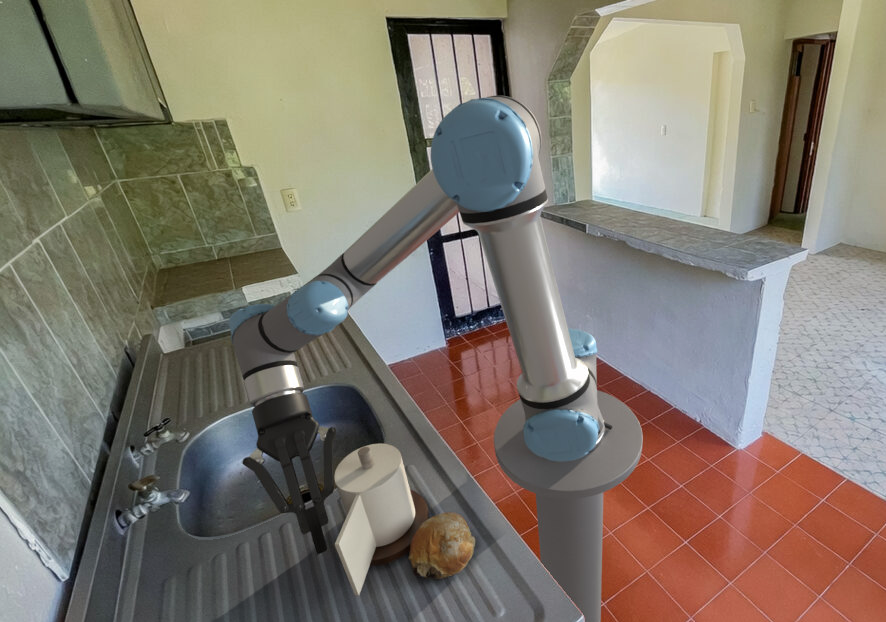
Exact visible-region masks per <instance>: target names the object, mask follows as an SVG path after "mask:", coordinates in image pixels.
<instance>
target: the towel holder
mask: <svg viewBox="0 0 886 622" xmlns="http://www.w3.org/2000/svg"><path fill="white" fill-rule="evenodd" d="M362 447H363V448H362ZM362 447H360V448H361V449H359V448H358V449H359V451H358V456H359V459H360V462H361V466H362V468H363V469H370V468H372V467H373V465H374V461H373V458H372V454H371V451H370V448H369V447H364V446H362ZM410 492H411V496H412V500H413V503H414V507H415V518H414V521H413V523H412V525H411V527H410V528H409V529H408V531H407V532H406V533H405V534H404V535H403V536H401V537H400V538H399V539H397V540H396V541H394V542H392V543H390V544H387V545H384V546H379V547H376V548H375V551H374V554H373V557H372V560H371V563H370V566H369V567H372V566H373V567H374V566H375V567H376V566H382V565H386V564H389V563H392V562H394V561H397V560H398V559H400V558H403V557H404V556H405V555H407V554H408V553H410V543H411V542H412V539H413V537H414V535H415V533H416V531H417V530H418V529H419V527H420V526H421V525H422V523H424V522H425V521H426V520H428V519H429V518H430V514H429V509H428V505H427V502H426V500H425V499H424V497H423V496H422V495H421V494H420V493H419V492H417V491H415V490H413V489H410Z"/></svg>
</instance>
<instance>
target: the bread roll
mask: <svg viewBox="0 0 886 622" xmlns="http://www.w3.org/2000/svg"><path fill="white" fill-rule="evenodd" d="M475 547H476V538H475V535H472V532H471V529H470V527H469V525H468V523H467V521H466V519H465V518H464V517H463V516H462V515H461V514H459V513H456V512H453V511H448V512H441V513H439V514H436V515H434V516H432V517H429V519H428V520H426V521H425V522H424V523H422V525H421V526H420V527H419V529H418V530H417V531H416V533H415V535H414V537H413V539H412V542H411V543H410V551H409V556H408V557H407V559H408V560H409V561H410V564H411V567H412V574H413V575H414V576H416V577H423V578H425V579H428V580H435V579H436V580H442V579H446V578H448V577H451V576H454V575H457V574H459V573H460V572H462V571H463V569H464V568H465V567H467V565H468V563H469V562H470V561H471V559H472V557H473V555H474V550H475Z"/></svg>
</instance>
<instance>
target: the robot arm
mask: <svg viewBox="0 0 886 622" xmlns="http://www.w3.org/2000/svg"><path fill="white" fill-rule="evenodd" d="M542 139H543V137H542V132H541V127H540V124H539V122H538V121H537V118H536V116H535V115H534V113H533V112H532V111H531V110H530V108H528V106H526V105H525V103H522V102H521V101H519V100H518V99H516V98H514V97H511V96H506V95H489V96H486V97H479V98H471V99H470V100H467V101H465V102H463V103H459V104H458V105H457V106H455V107H454V108H453V109H451V111H449V112H448V113H447V114H446V115H445V116H444V117H442V119H441V121H440V122H439V124H438V126H437V127H436V129H435V131H434V133H433V136H432V140H431V144H430V164H431V168H432V169H430V170H429V171H428V172H427V173H426V174H425V175H424V176H423V177H422V178H421V179H420V180H419V181H418V182H417V183H416V184H414V185H413V187H411V189H409V190H408V191H407V192H406V193H405V194H404V195H403V196H402V197H401V198H400V199H399V200H398V201H396V203H394V204H393V205H392V206H391V207H390V208H389V209H388V210H387V211H386V212H385V213H384V214H383V215H381V217H379V218H378V219H377V221H375V222H374V223H373V224H372V225H371V226H370V227H369V228H368V229H367V230H366V231H365V232H363V234H361V236H360V237H359V238H357V239H356V240H355V241H354V242H353V243H352V244H351V245H350V246H349V247H348V248H347V249H345V251H344V252H343V253H342V254H340V255H339V256H338V257H337V258H336V259H335V260H334V261H333V262H332V263H331V264H330V265H328V266H327V267H326V268H325V269H324V270H323V271H321V272H320V273H318V274H317V275H316V276H314V277H313V278H312V279H310V280H309V281H307V282H306V283H305V284H303V285H302V286H300V287H299V288H298V289H297V290H294V291H293V292H292V293H291V294H290V295H288V296H287V297H285V298H284V299H283V300H281V301H280V302H279V303H277V304H276V305H275V304H271V303H257V304H251V305H248V306H246V307H244V308H240V309H238V310H236V311H234V312H233V313H232V314H231V316H230V317H229V320H228V326H229V330H230V341H231V344H232V345H233V349H234V352H235V355H236V359H237V363H238V366H239V369H240V374H241V376H242V378H243V385H244V389H245V392H246V396H247V399H248V403H249V406H251V407H253V408H252V410H251V414H252V419H253V421H254V426H255V429H256V433H257V440H256V444H255V446H256V448H255V449H254V450H253V451H252V452H251V453H250V455H249V456H246V457H244V458H243V459H242V461H241V462H242V465H243V466H245V468H247V469H249V470H251V471H253V473H254V474H255V476H256V478H257V479H258V481H259V482H260V484H261V485H262V487H263V488H264V490H265V492H266V493H267V495H268V497H269V498H270V500H271V501H272V503H273V504H274V506H275V507H276V509H277V511H278V512H279V513H280V514H290V513H292V514H294V515H295V516H296V519H297V523H298V527H299V530H300V533H301V534H302V535H303V536H304V535H306V534H309V533H310V536H311V539H312V543H313V546H314V550H315V553H316V556H319V555H320V554H323V553H325V552H327V551H328V549H329V548H328V545H327V542H326V538H325V535H324V531H323V528H322V527H324V526H326V525H328V524H329V517H328V514H327V510H326V506H325V500H326V499H327V498H328V497H330V496H331V495H332V494H333V493H334V491H335V480H334V442H335V440H336V437H337V434H338V432H337V429H336V427H334V426H331V427H326V426H322V425H320V424H319V422H318V421H317V420H316V419H315V418H314V416H313V412H312V408H311V405H310V402H309V399H308V395H307V394H306V393H303V392H304V391H305V386H304V383H303V378H302V376H301V372H300V369H299V364H298V363H297V360H296V355H295V352H297V351H299V350H301V349H302V348H304V347H305V346H307V345H308V344H311V342H313V341H315V340H317V339H318V338H320V337H321V336H323V335H325V334H329V333H330V332H332V331H333V330H334V329H335V328H336V327H337V326H338V325H340V324H341V323H343V322H344V321H345V320H346V318H347V317H348V312H349V310H350V309H351V307H353V306H354V305H355V304H356V303H357V302H359V300H360V299H361V298H362V297H364V295H366V294H367V293H368V292H370V290H372V288H374V287H375V286H376V285H377V284H378V283H380V282H381V281H382V280H383V279H384V278H385V277H387V275H389V274H390V273H391V272H392V271H393V270H394V269H396V267H398V266H400V264H401V263H402V262H404V260H406V259H407V258H408V257H409V256H411V255H412V254H413V253H414V252H415V251H416V250H417V249H418V248H420V247H422V245H423V244H425V242H427V241H428V240H429V239H430V238H431V237H432V236H434V235H435V234H436V233H437V232H439V230H440V229H442V228H443V227H444V226H445V225H446V224H448V223H449V222H450V221H451V220H452V219H453V218H455V217H456V216H457V215H458V214H459V215H460V218H461V221H462V223H463V224H462V225H465V226H467V227H469V228H471V229H473V230H474V231H476V232H477V234H478V236H479V240H480V244H481V247H482V249H483V252H484V253H483V254H484V256H485V259H486V262H487V265H488V268H489V271H490V275H491V278H492V282H493V284H494V287H495V291H496V294H497V297H498V300H499V303H500V306H501V307H500V308H501V310H502V313H503V316H504V320H505V322H506V325H507V330H508V332H509V335H510V339H511V343H512V345H513V348H514V352H515V355H516V358H517V361H518V364H519V367H520V371H521V374H519V376H518V378H517V381H516V390H517V393H518V396H519V400H520V399H521V403H522V406H523V409H524V412H525V419H526V421H525V423H524V426H523V433H524V441H525V443H526V445H527V447H528V448H529V449H530V450H531V451H532V452H533V453H534V454H536V455H537V456H539V457H543V458H546V459H547V460H551V461H559V462H564V461H572V460H576V459H579V458H581V457H583V456H585V455H586V454H589V453H590V452H592V451H594V450H595V449H596V448H597V447H598V446H599V445H600V444H601V442H602V441H603V438H604V431H605V428H607V429H610V430H611V429H612V425H610V424H607V423H605V422H604V420H603V417H602V415H601V412H600V410H599V407H598V405H597V390H598V389H597V388H598V381H597V379H598V377H597V375H598V374H597V353H598V348H597V341H596V339H595V337H594V336H593V335H592V334H591V333H589V332H587V331H584V330H581V329H575V328H569V327H568V323H567V319H566V315H565V311H564V308H563V307H564V306H563V303H562V299H561V295H560V291H559V286H558V282H557V278H556V274H555V270H554V266H553V263H552V258H551V254H550V250H549V246H548V242H547V238H546V234H545V229H544V226H543V225H544V224H543V222H542V221H543V220H542V217H541V215H542V212H543V210H544V209H545V207H546V206H547V204H548V202H549V197H548V193H547V189H546V184H545V181H544V176H543V172H542V167H541V163H540V159H539V158H540V155H541V151H542V146H543V145H542V144H543V143H542V142H543V140H542ZM318 435H319V439H320V441H321V442H323V489H322V490H321V488H320V486H319V481H318V479H317V475H316V471H315V468H314V464H313V460H312V456H311V453H310V452H311V450H312V449H313V446H314V444H315V442H316V439H317V437H318ZM264 454H265V455H267V456H268V457H270V458H272V459H273V460H275V461H277V462H279V463H280V466H281V469H282V472H283V475H284V479H285V482H286V486H287V490H288V493H289V496H290V500H291V503H289V502H288V500H287V499H286V497H285V496H284V494H283V493H282V491H281V489H280V488H279V486H278V485H277V483H276V481H275V480H274V478H273V477H272V475H271V474H270V472H269V471H268V469H267V468H266V467H265V466H264V464H265V458H264V457H263V455H264ZM297 457H299V460H300V463H301V466H302V470H303V473H304V477H305V480H306V484H307V488H308V491H309V494H310V499H311V503H312V505H313V506H311V507H308V508H306V504H305V501H304V498H303V494H302V491H301V487H300V484H299V480H298V476H297V474H296V470H295V467H294V462H293V459H295V458H297Z"/></svg>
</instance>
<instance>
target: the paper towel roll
mask: <svg viewBox="0 0 886 622" xmlns="http://www.w3.org/2000/svg"><path fill="white" fill-rule="evenodd" d="M363 447H369V448H370V451H371V454H372V458H373V461H374V465H373V467H372V468H370V469H363V468H362V466H361V462H360V459H359V456H358V451H359V449H361V448H363ZM333 476H334V485H335V486H336V488H337V492H338V495H339V497H340V500H341V503H342V506H343V508H344V511H345V514H346V517H345V520H344V522H343V524H342V526H341V529H340V531H339V534H338V536H337V537H336V540H335V543H334V546H335V549H336V552H337V554H338V556H339V559H340V562H341V564H342V567H343V569H344V572H345V575H346V577H347V579H348V581H349V584H350V586H351V589H352V592H353V594H354V596H355V597H360V595H361V591H362V589H363V587H364V583H365V580H366V577H367V574H368V571H369V568H370V567H371V566H370V563H371V560H372V557H373V554H374V551H375V548H376V547H379V546H384V545H387V544H390V543H392V542H394V541H396V540H397V539H399V538H400V537H401V536H403V535H404V534H405V533H406V532H407V531H408V529H409V528H410V527H411V525H412V523H413V521H414V518H415V507H414V503H413V500H412V496H411V492H410V490H411V488H410V485H409V480H408V477H407V472H406V469H405V465H404V461H403V457H402V454H401V452H400V450H399V449H398V448H397V447H396V446H394V445H391V444H387V443H372V444H369V445H364V446H362V447H360V448H357V449H355V450H353V451H351V452H350V453H349V454H347V455H346V456H345V457H344V458H343V459H342V460H341V461H340V462H339V463H338V465H337V466H336V469H335V471H334V473H333Z"/></svg>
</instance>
